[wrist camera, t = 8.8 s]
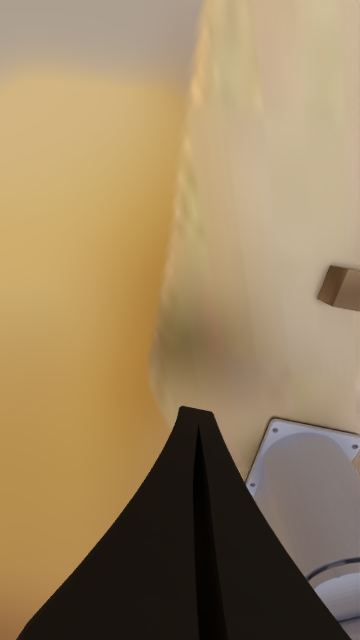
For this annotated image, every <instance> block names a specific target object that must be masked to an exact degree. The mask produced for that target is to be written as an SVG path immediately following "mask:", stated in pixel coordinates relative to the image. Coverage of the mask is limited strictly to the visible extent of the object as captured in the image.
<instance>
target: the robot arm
mask: <svg viewBox="0 0 360 640" xmlns="http://www.w3.org/2000/svg"><path fill="white" fill-rule="evenodd" d="M274 428H276V429H274ZM359 449H360V436H359V435H355V434H350V433H345V432H340V431H335V430H330V429H326V428H321V427H316V426H311V425H306V424H301V423H296V422H291V421H286V420H281V419H273V420H271V422H270V424H269V427H268V429H267V432H266V434H265V437H264V439H263V442H262V444H261V447H260V449H259V452H258V454H257V457H256V459H255V462H254V464H253V467H252V469H251V472H250V474H249V477H248V479H247V482H246V484H245V482H244V481H243V479H242V477H241V475H240V473H239V471H238V469H237V467H236V465H235V463H234V461H233V459H232V457H231V455H230V453H229V451H228V448H227V446H226V444H225V442H224V439H223V437H222V435H221V432H220V430H219V427H218V425H217V422H216V419H215V417H214V414H213V413H212V412H211V411H206V410H201V409H196V408H191V407H186V406H181V407H179V411H178V416H177V420H176V422H175V425H174V427H173V430H172V432H171V434H170V436H169V438H168V440H167V442H166V444H165V446H164V448H163V450H162V452H161V454H160V455H159V457H158V459H157V460H156V462H155V464H154V466H153V467H152V469H151V471H150V472H149V474H148V475H147V477H146V479H145V480H144V482H143V483H142V484H141V486H140V487H139V489H138V490H137V492H136V493H135V495H134V496H133V498H132V499H131V500H130V502H129V503H128V504H127V506H126V507H125V508H124V510H123V511H122V513H121V514H120V515H119V517H118V518H117V519H116V521H115V522H114V523H113V525H112V526H111V527H110V528H109V530H108V531H107V532H106V533H105V535H104V536H103V537H102V538H101V539H100V541H99V542H98V543H97V544H96V545H95V547H94V548H93V549H92V550H91V551H90V553H89V554H88V555H87V556H86V557H85V559H84V560H83V561H82V562H81V564H80V565H79V566H78V567H77V568H76V569H75V570H74V572H73V573H72V574H71V575H70V576H69V577H68V578H67V580H66V581H65V582H64V583H63V584H62V585H61V586H60V587H59V588H58V589H57V590H56V592H55V593H54V594H53V595H52V596H51V597H50V598H49V599H48V600H47V602H46V603H45V604H44V605H43V606H42V607H41V608H40V609H39V611H37V613H36V614H35V615H34V616H33V617H32V618H31V619H30V621H29V622H28V623H27V624H26V626H25V627H24V629H23V630H22V632H21V633H20V635H19V636H18V638H17V639H16V640H360V474H359V473H358V471H357V470H356V468H355V467H354V465H353V464H352V461H353V459H354V457H355V456H356V454H357V452H358V451H359ZM252 496H254V497H255V500H254V499H253V497H252Z"/></svg>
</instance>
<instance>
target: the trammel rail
mask: <svg viewBox="0 0 360 640" xmlns="http://www.w3.org/2000/svg"><path fill="white" fill-rule="evenodd" d="M318 299H319V300H321V301H323V302H325V303H327V304H329V305H331V306H334V307H339V308H344V309H349V310H354V311H360V271H357V270H352V269H347V268H341V267H336V266H330V269H329V271H328V274H327V276H326V279H325V281H324V284H323V286H322V289H321V291H320V294H319V296H318Z"/></svg>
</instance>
